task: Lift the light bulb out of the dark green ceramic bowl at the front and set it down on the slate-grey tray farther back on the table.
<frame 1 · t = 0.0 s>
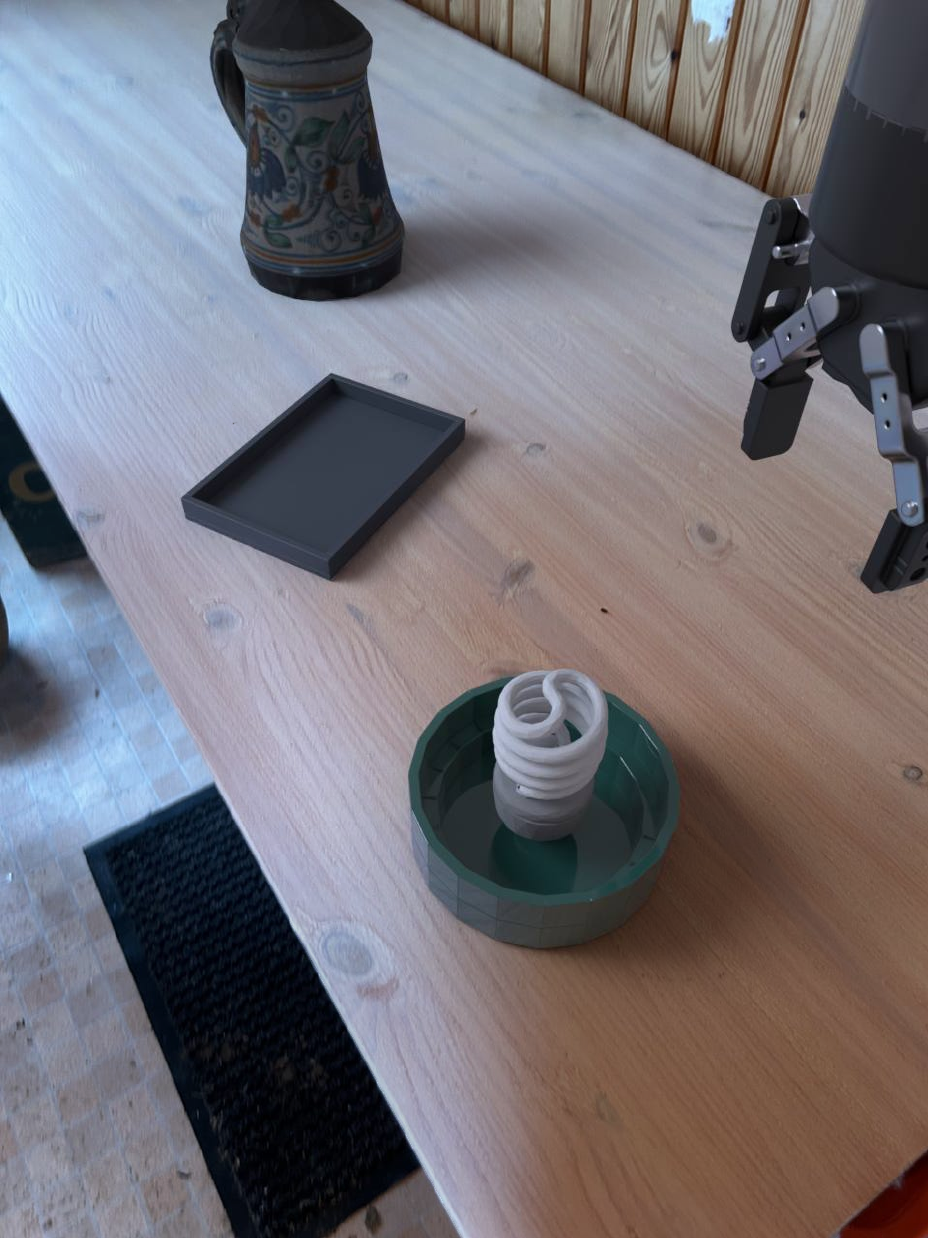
hand: (821, 514, 39), 22 cm above the table, tool pointing down, fingers open, 8 cm apart
beer stein: (312, 262, 100), on the table
bowl: (537, 828, 54), on the table
tray: (332, 476, 75), on the table
light bulb: (537, 827, 54), resting on bowl
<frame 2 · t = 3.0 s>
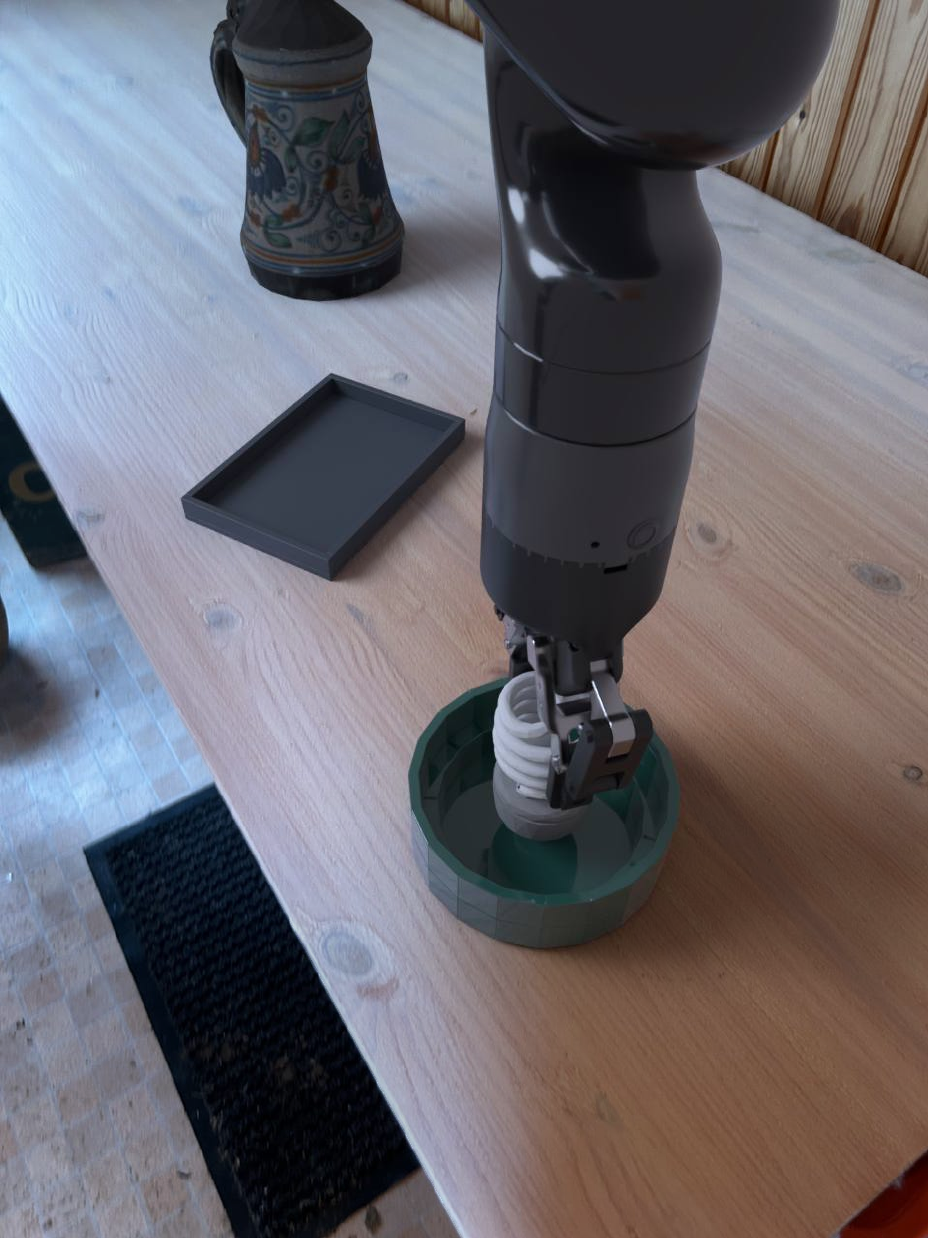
hand: (548, 747, 49), 8 cm above the table, tool pointing down, fingers closed on light bulb, 5 cm apart
light bulb: (537, 827, 54), resting on bowl, touching gripper
everything else where it was.
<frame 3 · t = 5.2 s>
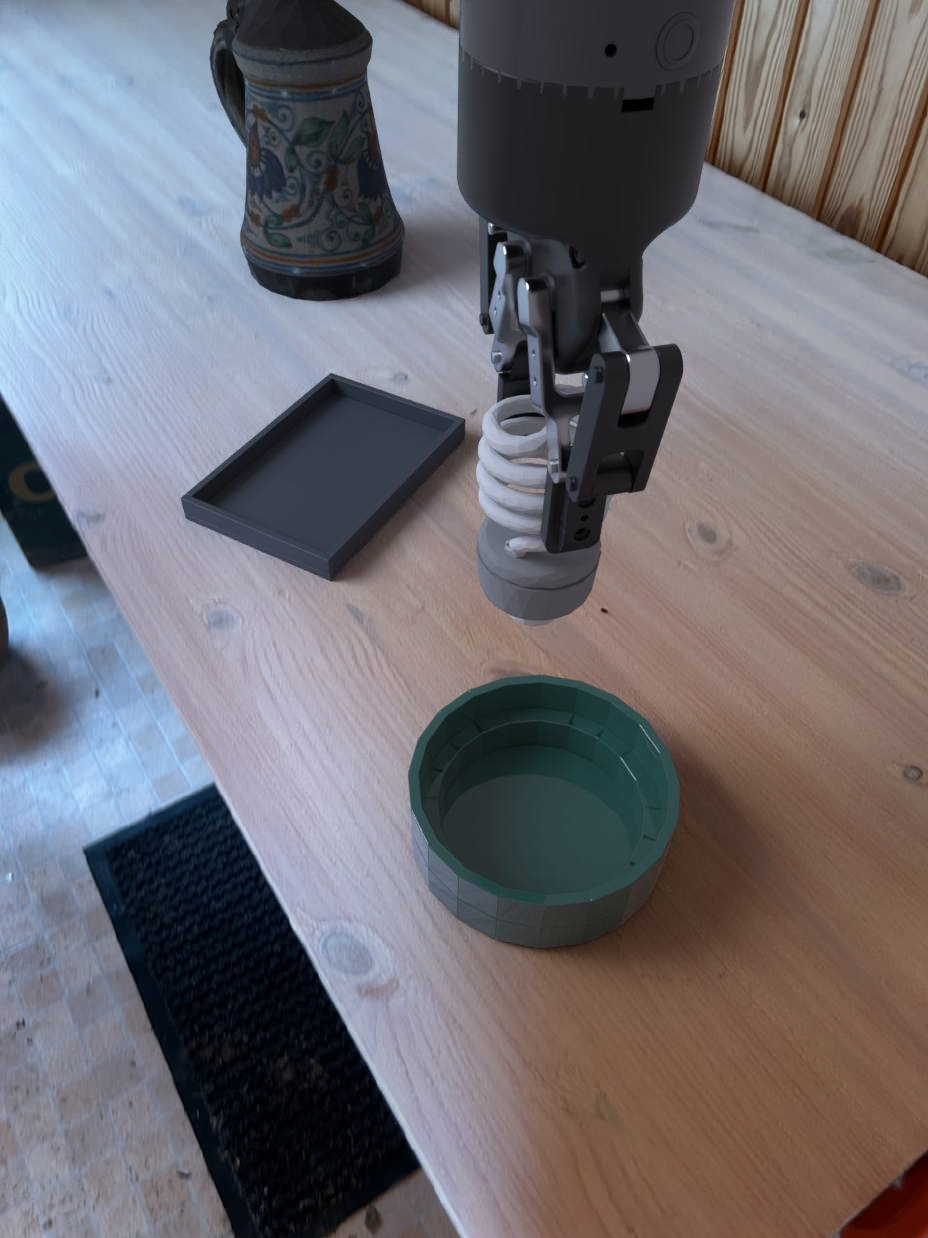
hand: (544, 493, 39), 23 cm above the table, tool pointing down, fingers closed on light bulb, 5 cm apart
light bulb: (530, 622, 45), point 15 cm above the table, touching gripper
everything else where it was.
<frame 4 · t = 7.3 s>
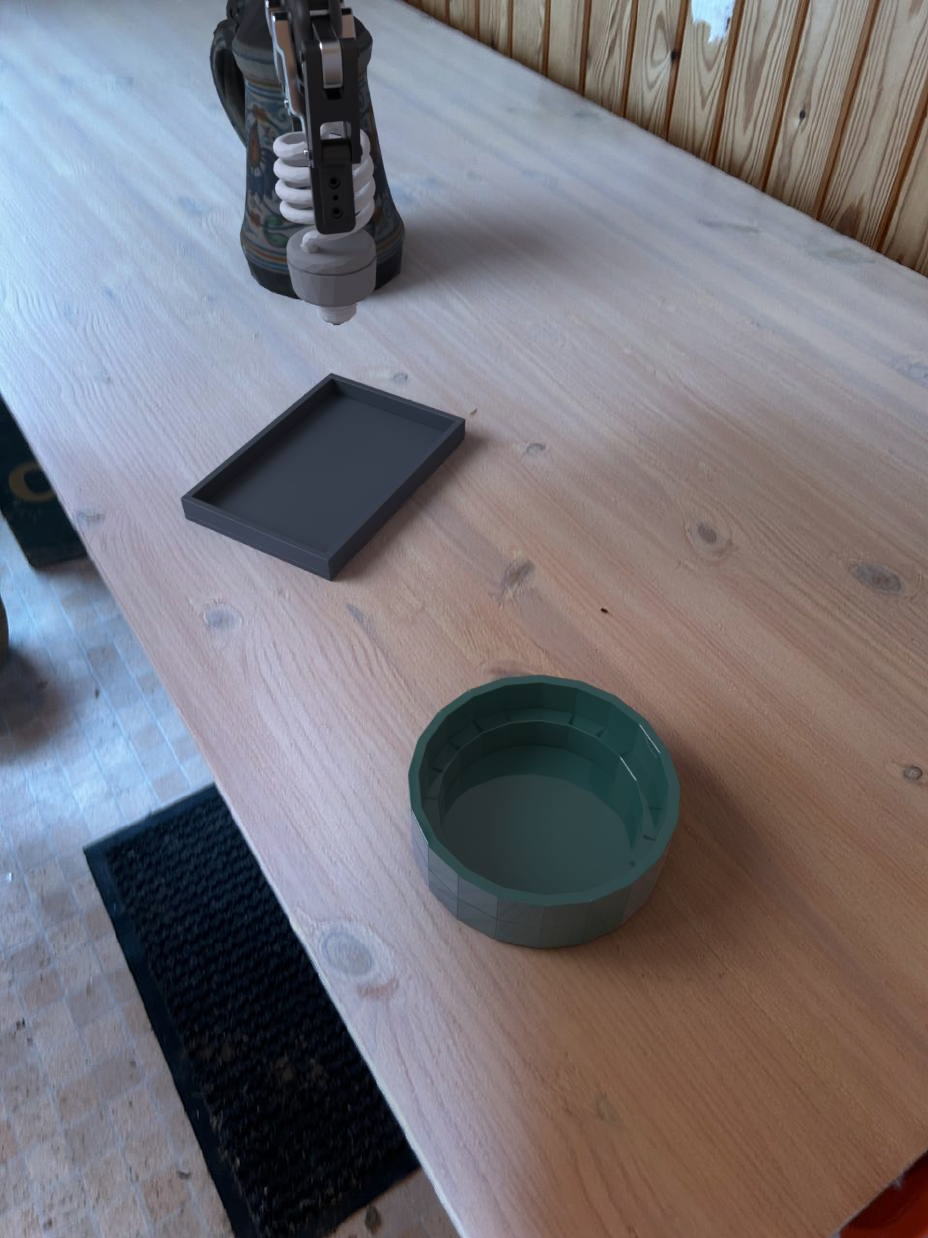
hand: (326, 205, 55), 23 cm above the table, tool pointing down, fingers closed on light bulb, 5 cm apart
light bulb: (338, 326, 61), point 16 cm above the table, touching gripper
everything else where it was.
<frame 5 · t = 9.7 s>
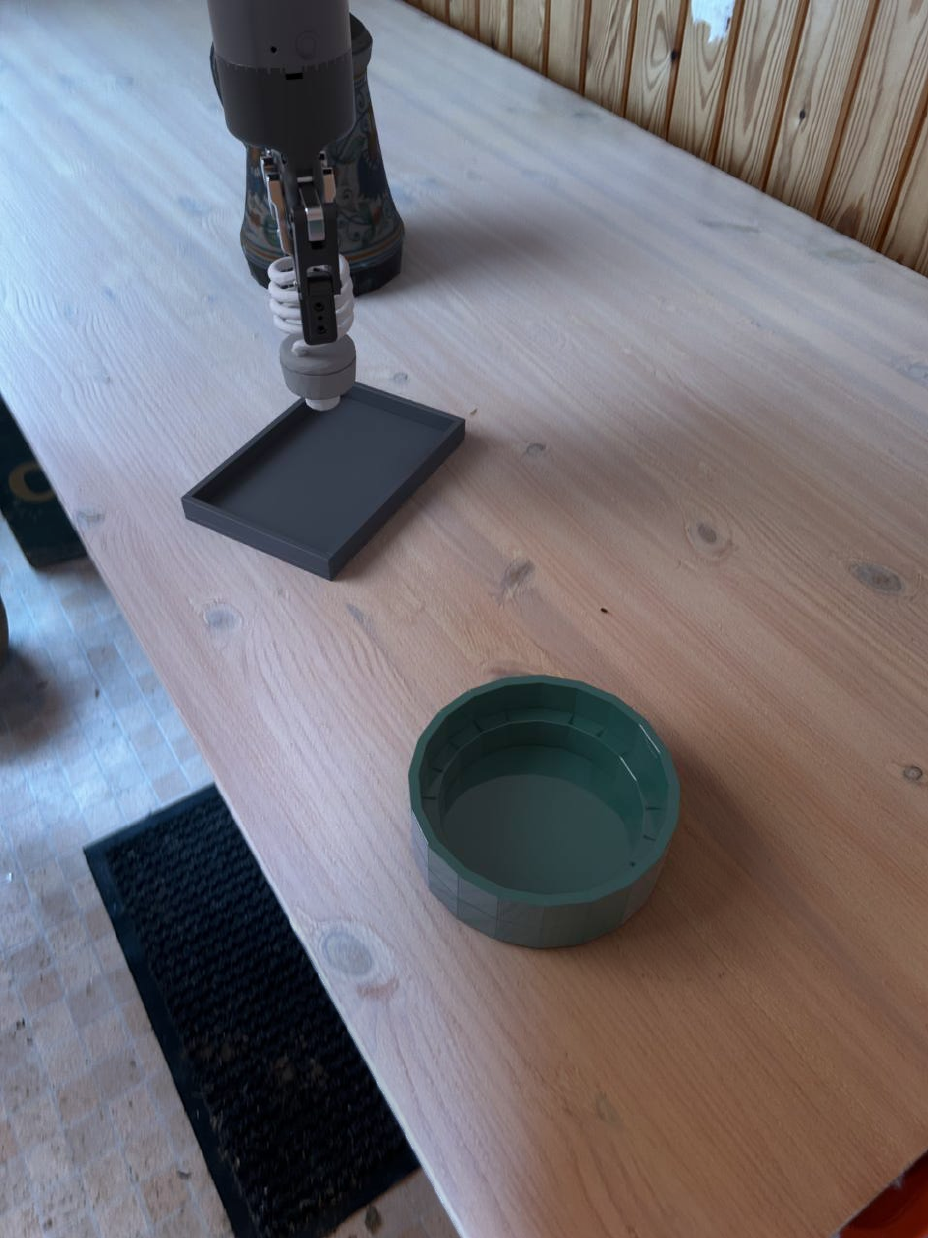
hand: (313, 316, 65), 14 cm above the table, tool pointing down, fingers closed on light bulb, 5 cm apart
light bulb: (324, 412, 71), point 6 cm above the table, touching gripper
everything else where it was.
when the fingers open (8 cm above the table, at t = 11.7 s): light bulb stays where it is, resting on tray.
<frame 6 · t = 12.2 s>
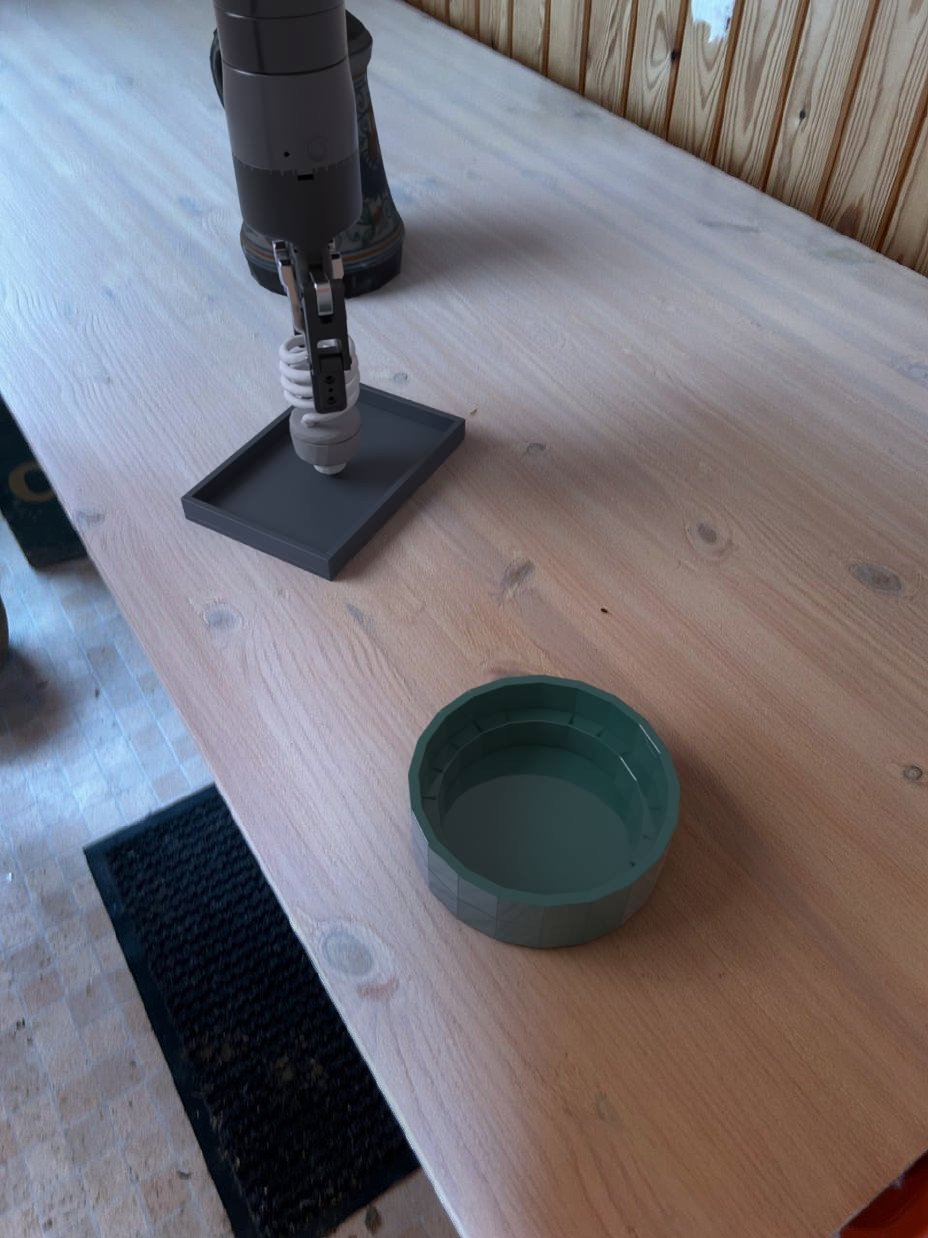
hand: (320, 376, 69), 9 cm above the table, tool pointing down, fingers open, 8 cm apart
light bulb: (331, 474, 75), resting on tray
everything else where it was.
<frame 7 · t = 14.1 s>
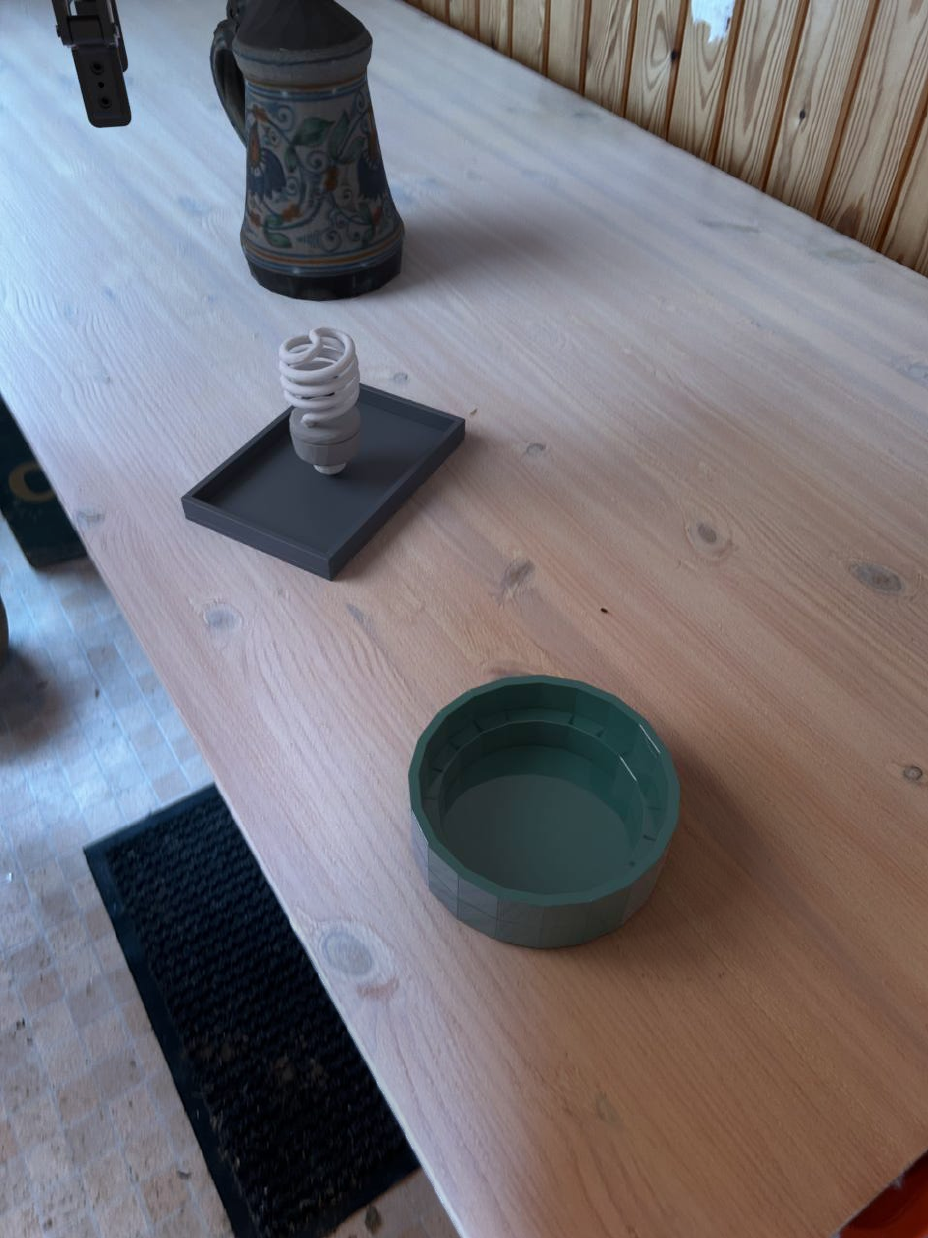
hand: (111, 96, 54), 28 cm above the table, tool pointing down, fingers open, 8 cm apart
nothing on the table moved.
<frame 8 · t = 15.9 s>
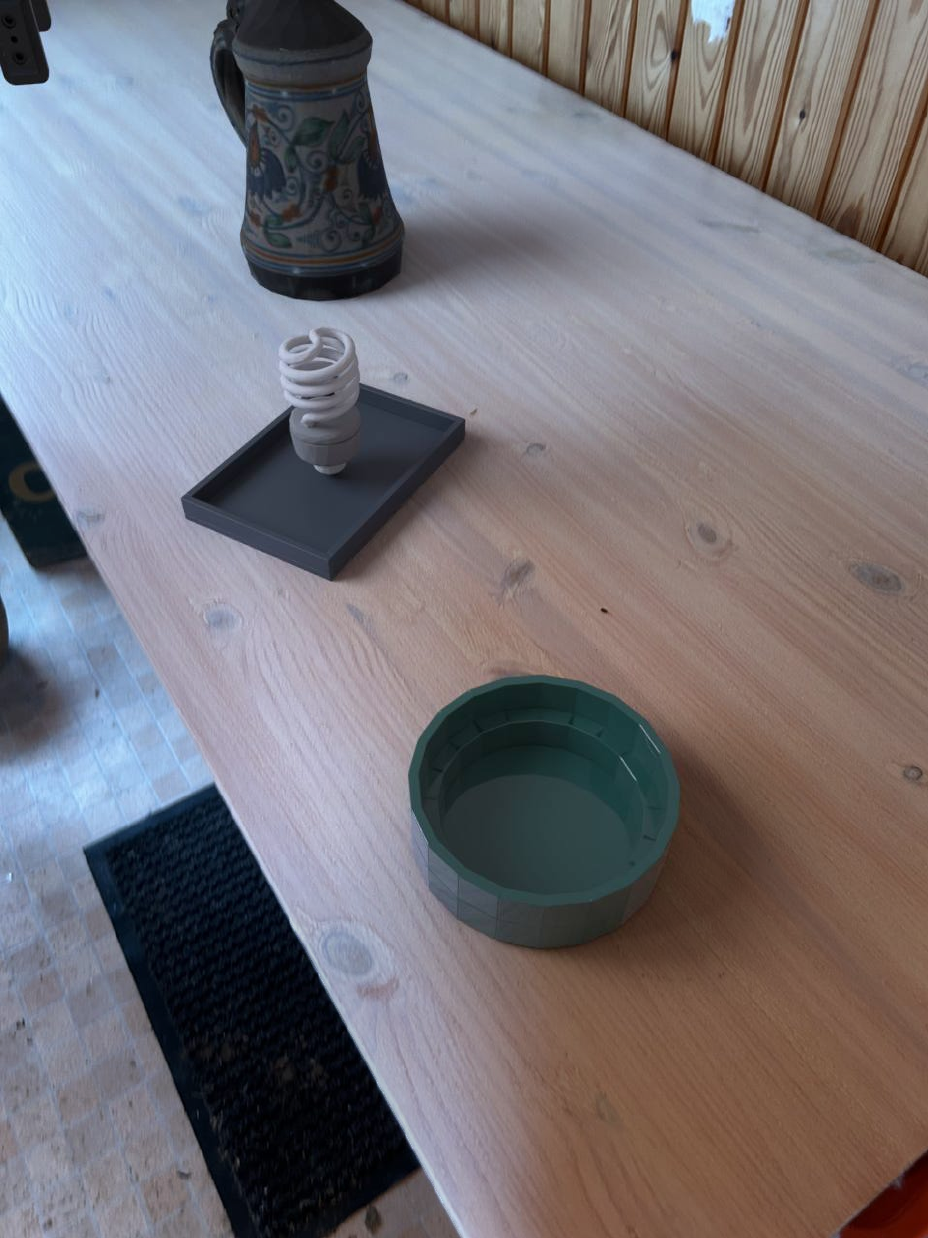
hand: (31, 54, 52), 30 cm above the table, tool pointing down, fingers open, 8 cm apart
nothing on the table moved.
at the end: light bulb inside the target area on the tray (0.1 cm from its centre), point 0.3 cm above the tray's base; the gripper is holding nothing; light bulb moved 34.3 cm from its start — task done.
